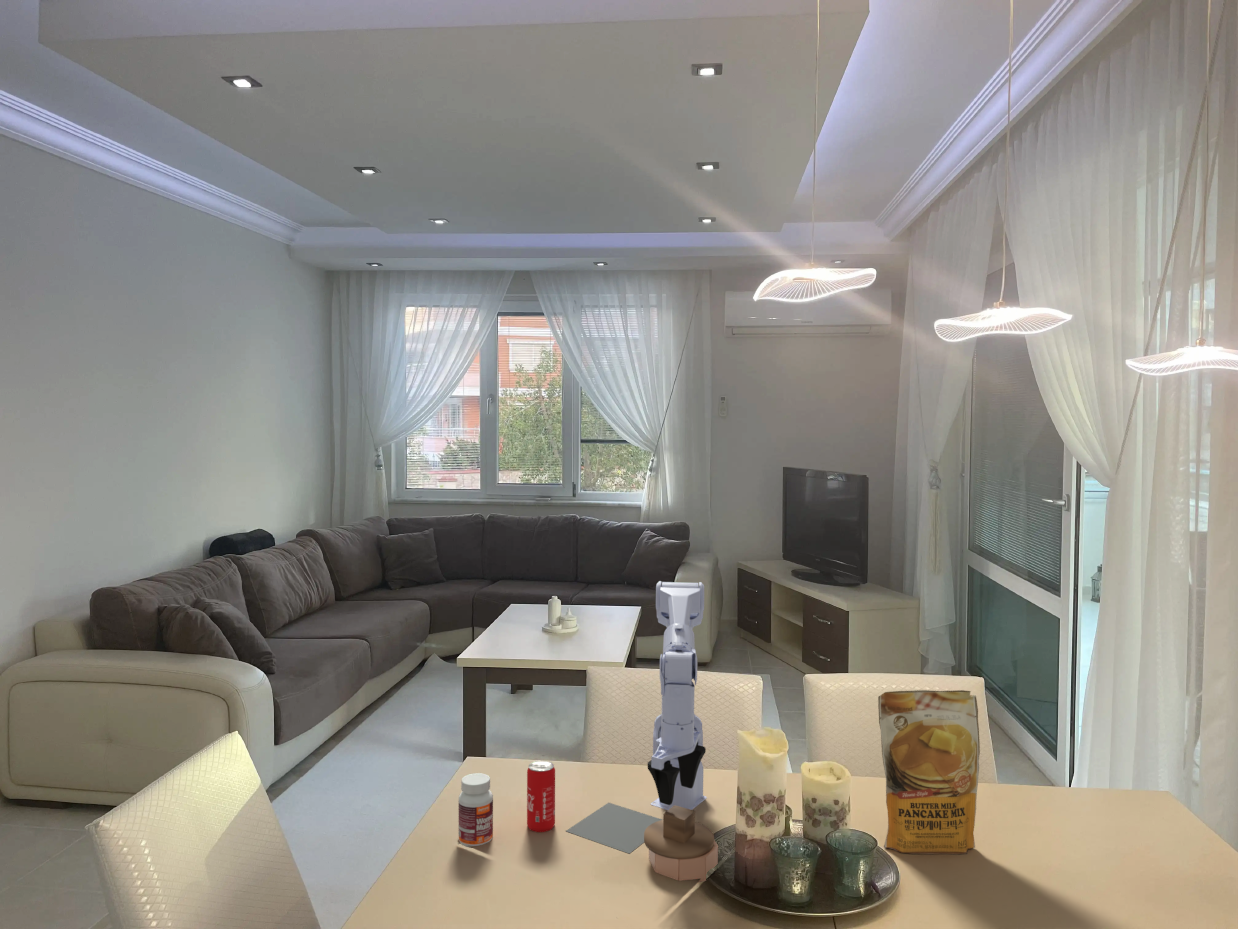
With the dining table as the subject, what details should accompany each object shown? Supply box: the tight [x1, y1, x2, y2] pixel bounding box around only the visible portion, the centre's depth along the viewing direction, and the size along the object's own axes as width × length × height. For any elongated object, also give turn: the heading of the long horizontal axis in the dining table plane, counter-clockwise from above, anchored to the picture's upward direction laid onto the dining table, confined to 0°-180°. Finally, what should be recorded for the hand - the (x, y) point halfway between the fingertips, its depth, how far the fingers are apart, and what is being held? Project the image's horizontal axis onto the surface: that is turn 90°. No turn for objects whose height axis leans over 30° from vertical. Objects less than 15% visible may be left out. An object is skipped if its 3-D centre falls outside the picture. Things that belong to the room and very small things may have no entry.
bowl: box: [648, 839, 719, 883], centre depth 141 cm, size 11×11×4 cm
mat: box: [565, 802, 663, 855], centre depth 154 cm, size 14×14×1 cm
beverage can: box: [526, 760, 556, 833], centre depth 153 cm, size 5×5×12 cm
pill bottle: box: [458, 772, 494, 849], centre depth 149 cm, size 6×6×11 cm
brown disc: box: [643, 805, 715, 859], centre depth 142 cm, size 12×12×5 cm
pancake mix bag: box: [877, 689, 981, 855], centre depth 148 cm, size 7×19×28 cm, turn 91°
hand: (676, 794), depth 146 cm, fingers open, 7 cm apart
